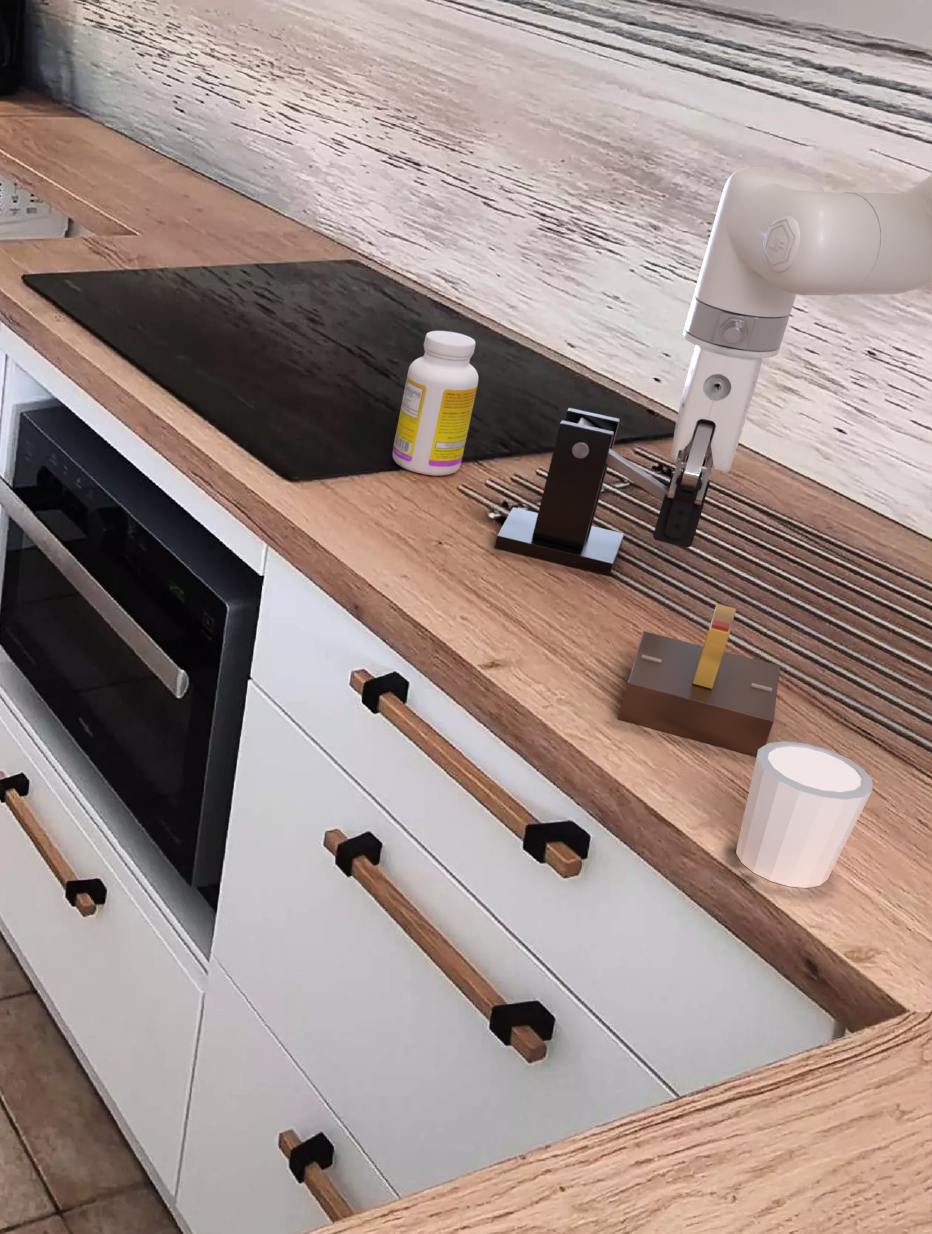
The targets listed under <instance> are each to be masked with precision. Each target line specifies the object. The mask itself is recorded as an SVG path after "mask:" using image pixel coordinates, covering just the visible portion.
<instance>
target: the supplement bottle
mask: <svg viewBox="0 0 932 1234" xmlns="http://www.w3.org/2000/svg"><path fill="white" fill-rule="evenodd" d="M423 349H424V354H423V356H420V357H418V358H416V359H415V360H413V361H412V362H411V363H410V365H409V367H408V371H407V375H406V380H405V386H404V391H403V396H402V402H401V406H400V411H399V416H398V422H397V426H396V431H395V437H394V442H393V447H392V459H393V462H395V463H396V465H397V466H399V467H401V468H402V469H404V470H407V471H409V472H413V473H417V474H419V475H420V474H421V475H425V476H433V477H435V476H437V477H439V476H440V477H441V476H448V475H452V474H454V473H456V472H457V471H458V470H459V469H460V467H461V464H462V460H463V456H464V450H465V447H466V443H467V437H468V432H469V429H470V423H471V418H472V415H473V414H472V413H473V409H474V404H475V399H476V395H477V390H478V384H479V374H478V370H476V368H475V367H474V366H473V365H472V364H471V363H470V360H471V358H472V356H473V355H474V353H475V349H476V340H475V339H474V338H472V337H471V336H468V335H466V334H463V333H460V332H456V331H455V332H454V331H448V330H432V331H428V332H427V333H426V334H425V338H424V341H423Z"/></svg>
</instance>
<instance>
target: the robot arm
mask: <svg viewBox="0 0 932 1234" xmlns="http://www.w3.org/2000/svg"><path fill="white" fill-rule="evenodd" d="M930 283H932V173H931V174H930V175H928V176H927V177H926V178H924V179H923V180H922V181H920V182H919V183H917V184H916V185H913V187H911V188H909V189H907V190H906V191H904V192H901V193H889V192H856V191H855V192H852V191H851V192H848V191H845V192H826V191H825V190H824V187H823V185H822V184H821V183H820V182H819V181H818V180H816V179H814V178H813V177H811V176H808V175H806V174H802V173H799V172H795V171H791V170H787V169H782V168H774V167H767V166H766V167H764V166H749V167H742V168H739V169H738V170H736V171H734V172H733V173H732V174H731V175H730V176H729V177H728V179H727V181H726V182H725V185H724V187H723V189H722V193H721V197H720V200H719V203H718V208H717V211H716V215H715V219H714V221H713V225H712V229H711V232H710V236H709V239H708V243H707V247H706V251H705V254H704V257H703V260H702V265H701V269H700V271H699V276H698V279H697V282H696V286H695V290H694V294H693V297H692V301H691V304H690V308H689V310H688V315H687V319H686V322H685V326H684V329H683V332H682V336H683V338H684V339H685V340H686V341H688V342H689V343H691V344H693V345H695V347H694V350H693V354H692V357H691V362H690V364H689V369H688V372H687V376H686V380H685V383H684V387H683V392H682V396H681V399H680V404H679V407H678V412H677V416H676V422H675V426H674V433H673V439H672V444H671V450H670V456H669V458H670V460H671V462H672V463H674V465H675V469H674V472H671V475H670V479H669V482H668V486H667V487H668V488H669V493H668V494H665V496H664V499H663V502H662V503H661V505H660V509H659V513H658V517H657V520H656V524H655V526H654V531H653V534H652V535H653V536H652V537H653V539H654V540H655V541H657V542H662V543H666V544H671V545H674V546H679V547H682V548H690V547H692V545H693V542H694V540H695V536H696V532H697V530H698V526H699V524H700V523H699V522H700V519H701V516H702V512H703V508H704V506H705V501H706V497H707V493H708V490H709V487H710V483H711V481H710V480H709V478H710V475H711V473H712V468H713V470H715V471H720V475H726V474H728V473H730V471H731V468H732V465H733V462H734V459H735V455H736V453H737V449H738V445H739V443H740V439H741V436H742V433H743V429H744V426H745V423H746V420H747V417H748V413H749V409H750V407H751V404H752V400H753V396H754V394H755V390H756V386H757V382H758V378H759V375H760V370H761V367H762V362H763V359H768V358H773V357H776V356H777V355H778V354H779V352H780V348H781V345H782V342H783V338H784V335H785V333H786V329H787V325H788V322H789V319H790V316H791V314H792V310H793V306H794V302H795V300H796V296H798V295H799V296H840V295H842V296H843V295H845V296H847V295H848V296H849V295H897V294H898V295H899V294H904V293H907V292H911V291H914V290H917V289H919V288H922V287H924V286H927V285H928V284H930ZM674 495H675V496H674Z"/></svg>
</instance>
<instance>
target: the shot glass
mask: <svg viewBox="0 0 932 1234" xmlns="http://www.w3.org/2000/svg"><path fill="white" fill-rule="evenodd" d="M873 784H874V783H873V779H872V778H871V776H870V775H869V774H868V773H867V772H866V770H865V769H864V768H863V767H862V766H860V765H859V764H857V763H856V762H854V761H853V760H851V759H850V758H848V757H846V756H844V755H841V754H839V753H836V752H835V751H832V750H830V749H827V748H823V747H821V746H817V745H814V744H809V743H806V742H798V741H797V742H795V741H787V740H783V741H777V742H776V741H775V742H767V743H766V745H765V746H763V747H761V748H760V749H758V753H757V757H756V758H755V762H754V768H753V772H752V776H751V780H750V784H749V785H750V786H749V790H748V795H747V798H746V799H747V800H746V805H745V808H744V811H743V817H742V821H741V827H740V830H739V834H738V835H739V836H738V840H737V844H736V851H735V854H736V856H737V858H738V859H739V861H740V863H741V864H742V865H743V866H745V867H746V868H747V869H748V870H749V871H750V872H752V873H754V874H755V875H757V876H759V877H762V878H763V879H765V880H767V881H769V882H772V883H776V884H779V885H783V886H786V887H791V888H801V889H810V888H815V887H820V886H821V885H823V884H825V882H827V881H828V879H829V877H830V875H831V873H832V871H833V869H834V867H835V865H836V864H837V861H838V859H839V858H840V855H841V853H842V852H843V849H844V847H845V846H846V843H847V841H848V840H849V837H850V836H851V834H852V831H853V830H854V828H855V826H856V824H857V822H858V820H859V818H860V816H861V814H862V812H863V810H864V809H865V806H866V804H867V802H868V800H869V798H870V796H871V794H872V792H873Z"/></svg>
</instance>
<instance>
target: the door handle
mask: <svg viewBox="0 0 932 1234" xmlns="http://www.w3.org/2000/svg"><path fill="white" fill-rule="evenodd" d="M577 424H581V425H586V426H590V427H595V428H597V427H596V426H594V425H593V424H591V423H590V422H588V421H587V420H585V419H584V418H581V419H580V421H579V422H578V423H577ZM606 464H607V465H608V466H609V467H610V468H611V469H612V470H614V471H616V472H617V473H619V474H621V475H622V476H623V477H625V478H627V479H628V480H629V481H631V482H632V483H634V484H635V485H637V486H638V487H640V488H641V489H642V490H644V491H646V492H647V493H648V494H650V495H651V496H653V497H654V498H656V499H658V500H659V501H661V502H662V503H663V499H664V496H665V494H668V493H669V488H668V486H666V485H665V484H664V483H662V482H660V480H658V479H656V478H655V477H653V476H652V475H651V474H649V473H647V472H645V471H644V470H643V469H641V468H640V467H638V466H637V465H636V464H634V463H632V462H631V461H630V460H628V459H627V458H625V457H624V456H622V455H620V454H619V453H618V452H616V451H615V450H613V448H612V449H610V450H609V454H608V458H607V461H606ZM674 496H675V495H674Z"/></svg>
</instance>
